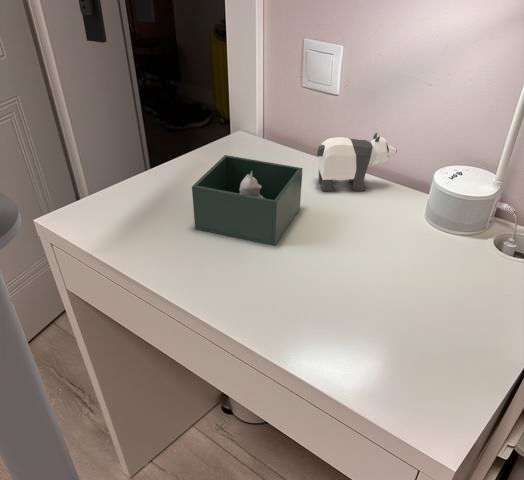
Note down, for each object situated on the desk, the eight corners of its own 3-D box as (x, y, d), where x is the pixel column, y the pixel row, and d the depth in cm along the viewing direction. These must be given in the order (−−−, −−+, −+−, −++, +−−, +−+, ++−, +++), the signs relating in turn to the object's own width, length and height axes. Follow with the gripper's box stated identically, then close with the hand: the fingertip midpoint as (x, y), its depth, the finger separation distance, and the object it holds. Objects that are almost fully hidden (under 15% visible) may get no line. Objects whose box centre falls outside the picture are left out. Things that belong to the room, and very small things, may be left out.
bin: (194, 228, 89) (191, 186, 84) (226, 194, 98) (224, 154, 93) (275, 245, 86) (276, 202, 80) (299, 208, 95) (302, 167, 90)
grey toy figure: (270, 220, 91) (272, 174, 85) (234, 227, 89) (233, 181, 83) (259, 205, 94) (259, 161, 89) (223, 212, 92) (221, 167, 87)
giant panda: (316, 192, 99) (321, 141, 93) (312, 179, 103) (316, 129, 97) (393, 191, 100) (403, 139, 94) (386, 178, 104) (395, 128, 98)
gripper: (57, -176, 55) (97, 54, 69) (171, -166, 72) (183, 16, 86) (-3, -177, 57) (48, 47, 71) (122, -167, 74) (143, 12, 88)
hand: (122, 30), depth 79 cm, fingers open, 13 cm apart
